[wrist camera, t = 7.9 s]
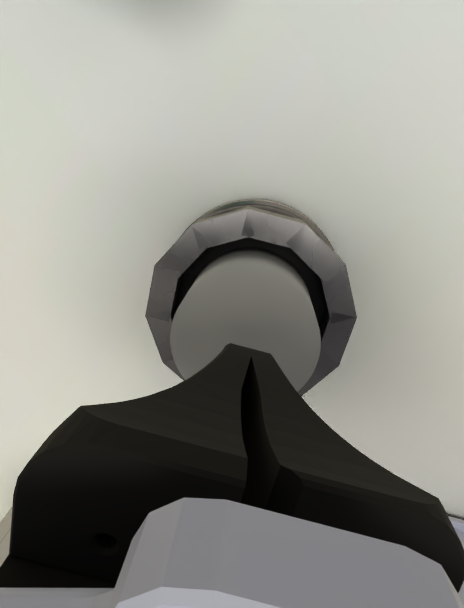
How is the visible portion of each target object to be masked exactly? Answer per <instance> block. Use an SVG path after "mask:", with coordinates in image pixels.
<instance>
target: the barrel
mask: <svg viewBox="0 0 464 608" xmlns="http://www.w3.org/2000/svg"><path fill="white" fill-rule="evenodd" d="M246 246H253V247H261V248H266V249H269V250H272V251H275V252H277V253H279V254H281V255H282V256H284V257H285V258H287V259H288V260H289V261H290V262H291V263H293V264H294V266H295V267H296V268H297V269H298V270H299V272H300V273H301V275H302V276H303V278H304V280H305V282H306V285H307V288H308V292H309V295H310V298H311V302H312V305H313V309H314V312H315V315H316V319H317V322H318V326H319V330H320V336H321V348H320V356H319V359H318V363H317V365H316V368H315V370H314V372H313V374H312V375H311V377H310V378H309V380H308V381H307V382H306V384H305V385H304V386H303V387H302V388H301V389H300V390H299V391H298V394H299V395H300V396H302V395H303V394H305V393H306V392H307V391H308V390H310V389H311V388H312V387H313V386H314V385H316V384H317V383H318V382H319V381H321V380H322V379H323V378H324V377H326V376H327V375H328V374H329V373H331V372H332V371H333V370H334V369H335V368H337V367H338V366H339V364H340V361H341V358H342V356H343V353H344V350H345V348H346V345H347V342H348V340H349V337H350V335H351V332H352V329H353V327H354V324H355V321H356V319H357V316H356V312H355V307H354V302H353V297H352V293H351V288H350V283H349V278H348V273H347V269H346V265H345V263H344V262H343V261H342V259H341V258H340V257H339V256H338V255H337V254H336V253H335V252H334V249H333V247H332V246H331V244H330V242H329V241H328V239H327V238H326V236H325V235H324V234H323V232H322V231H321V230H320V229H319V228H318V226H317V225H316V224H314V223H313V222H312V221H311V220H310V219H309V218H308V217H306V216H305V215H303V214H302V213H300V212H299V211H297V210H295V209H293V208H291V207H289V206H286V205H283V204H280V203H278V202H273V201H268V200H260V199H247V200H238V201H234V202H229V203H226V204H223V205H221V206H218V207H216V208H214V209H212V210H210V211H208V212H207V213H205V214H204V215H202V216H201V217H200V218H198V219H197V220H196V221H195V222H194V223H192V224H191V225H190V226H189V227H188V228H187V229H186V231H185V232H184V233H183V234H182V236H181V237H180V238H179V239H178V241H177V242H176V243H175V244H174V245H173V246H172V247H171V248H170V249H169V250H168V251H167V252H166V254H165V255H164V256H163V257H162V258H161V259H160V260H159V261H158V262H157V263H156V264H155V266H154V272H153V277H152V283H151V288H150V294H149V299H148V304H147V310H146V315H145V316H146V319H147V321H148V324H149V327H150V329H151V332H152V335H153V337H154V340H155V343H156V345H157V348H158V351H159V353H160V356H161V359H162V361H163V363H164V364H165V365H166V366H168V367H169V368H170V369H171V370H172V371H173V372H175V373H176V374H177V375H178V376H179V377H180V378H181V379H183V380H184V381H185V379H184V378H183V377H182V375H181V373H180V372H179V370H178V368H177V366H176V364H175V362H174V359H173V355H172V352H171V345H170V332H171V325H172V322H173V318H174V315H175V313H176V311H177V309H178V307H179V305H180V304H181V302H182V301H183V299H184V297H185V296H186V294H187V293H188V291H189V289H190V288H191V286H192V285H193V283H194V281H195V280H196V278H197V277H198V275H199V274H200V272H201V270H202V269H203V268H204V267H205V266H206V264H207V263H208V262H210V261H211V260H212V259H213V258H215V257H216V256H218V255H219V254H221V253H223V252H225V251H227V250H230V249H233V248H238V247H246Z"/></svg>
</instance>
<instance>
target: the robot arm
mask: <svg viewBox="0 0 464 608" xmlns="http://www.w3.org/2000/svg"><path fill="white" fill-rule="evenodd" d="M0 608H464V520H461V519H458V518H454V517H450V516H448V515H447V513H446V511H445V509H444V507H443V506H442V504H441V502H440V500H439V499H438V498H437V497H435V496H433V495H431V494H429V493H427V492H425V491H424V490H422V489H420V488H418V487H416V486H414V485H413V484H411V483H409V482H407V481H405V480H403V479H401V478H400V477H398V476H396V475H394V474H393V473H391V472H390V471H388V470H386V469H385V468H383V467H382V466H380V465H379V464H377V463H376V462H374V461H372V460H371V459H369V458H368V457H367V456H365V455H364V454H362V453H361V452H360V451H358V450H357V449H356V448H354V447H353V446H352V445H351V444H349V443H348V442H347V441H345V440H344V439H343V438H342V437H340V436H339V435H338V434H337V433H336V432H335V431H333V430H332V429H331V428H330V427H329V426H328V425H327V424H326V423H325V422H324V421H323V420H322V419H321V418H320V417H319V416H318V415H317V414H316V413H315V412H314V411H313V410H312V409H311V408H310V407H309V406H308V404H307V403H306V402H305V401H304V400H303V398H302V397H301V396H300V395H299V394H298V392H297V391H296V390H295V388H294V387H293V386H292V384H291V383H290V382H289V380H288V379H287V377H286V376H285V374H284V373H283V371H282V370H281V368H280V367H279V365H278V364H277V362H276V360H275V359H274V357H273V356H272V355H271V354H270V353H267V352H263V351H259V350H255V349H251V348H247V347H243V346H240V345H236V344H232V343H229V344H227V345H225V347H224V349H223V350H222V351H221V352H220V353H219V354H218V355H217V356H216V357H215V358H214V359H213V360H212V361H211V362H210V363H209V364H208V365H206V366H205V367H204V368H203V369H201V370H200V371H198V372H197V373H195V374H194V375H193V376H191V377H190V378H188V379H186V380H185V381H183V382H181V383H180V384H178V385H176V386H174V387H172V388H169V389H166V390H163V391H161V392H158V393H155V394H152V395H149V396H146V397H142V398H138V399H133V400H128V401H123V402H117V403H108V404H98V405H87V406H80V407H79V408H78V409H77V410H76V411H75V412H73V413H72V414H71V415H70V416H69V417H68V418H67V419H66V420H65V421H64V422H63V423H62V424H61V425H60V426H59V427H58V428H57V429H56V430H54V431H53V433H52V434H51V435H50V436H49V437H48V438H47V439H46V441H45V442H44V443H43V444H42V446H41V447H40V448H39V449H38V451H37V452H36V453H35V454H34V456H33V457H32V458H31V460H30V461H29V462H28V463H27V465H26V466H25V468H24V469H23V471H22V472H21V474H20V475H19V476H18V479H17V483H16V487H15V490H14V495H13V508H12V520H11V533H10V546H9V555H8V556H7V558H6V559H5V561H4V562H3V564H2V565H1V567H0Z"/></svg>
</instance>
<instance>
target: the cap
mask: <svg viewBox="0 0 464 608" xmlns="http://www.w3.org/2000/svg"><path fill="white" fill-rule="evenodd" d="M229 343H232V344H236V345H240V346H243V347H247V348H251V349H255V350H259V351H263V352H267V353H270V354H271V355H272V356H273V357H274V359H275V360H276V362H277V364H278V365H279V367H280V368H281V370H282V371H283V373H284V374H285V376H286V377H287V379H288V380H289V382H290V383H291V384H292V386H293V387H294V388H295V390H296V391H297V392H298V391H299V390H300V389H301V388H302V387H303V386H304V385H305V384H306V382H307V381H308V380H309V378H310V377H311V375H312V374H313V372H314V370H315V368H316V365H317V363H318V359H319V356H320V348H321V336H320V330H319V326H318V322H317V319H316V315H315V312H314V309H313V305H312V302H311V298H310V295H309V292H308V288H307V285H306V282H305V280H304V278H303V276H302V275H301V273H300V272H299V270H298V269H297V268H296V267H295V266H294V264H293V263H291V262H290V261H289V260H288V259H287V258H285V257H284V256H282V255H281V254H279V253H277V252H275V251H272V250H269V249H266V248H261V247H253V246H246V247H238V248H233V249H230V250H227V251H225V252H223V253H221V254H219V255H218V256H216V257H215V258H213V259H212V260H211V261H210V262H208V263H207V264H206V266H205V267H204V268H203V269H202V270H201V272H200V274H199V275H198V277H197V278H196V280H195V281H194V283H193V285H192V286H191V288H190V289H189V291H188V293H187V294H186V296H185V297H184V299H183V301H182V302H181V304H180V305H179V307H178V309H177V311H176V313H175V315H174V318H173V322H172V325H171V332H170V345H171V352H172V355H173V359H174V362H175V364H176V366H177V368H178V370H179V372H180V373H181V375H182V377H183V378H184V379H185V380H186V379H188V378H190V377H191V376H193V375H194V374H195V373H197V372H198V371H200V370H201V369H203V368H204V367H205V366H206V365H208V364H209V363H210V362H211V361H212V360H213V359H214V358H215V357H216V356H217V355H218V354H219V353H220V352H221V351H222V350H223V349H224V347H225V345H227V344H229Z"/></svg>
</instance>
